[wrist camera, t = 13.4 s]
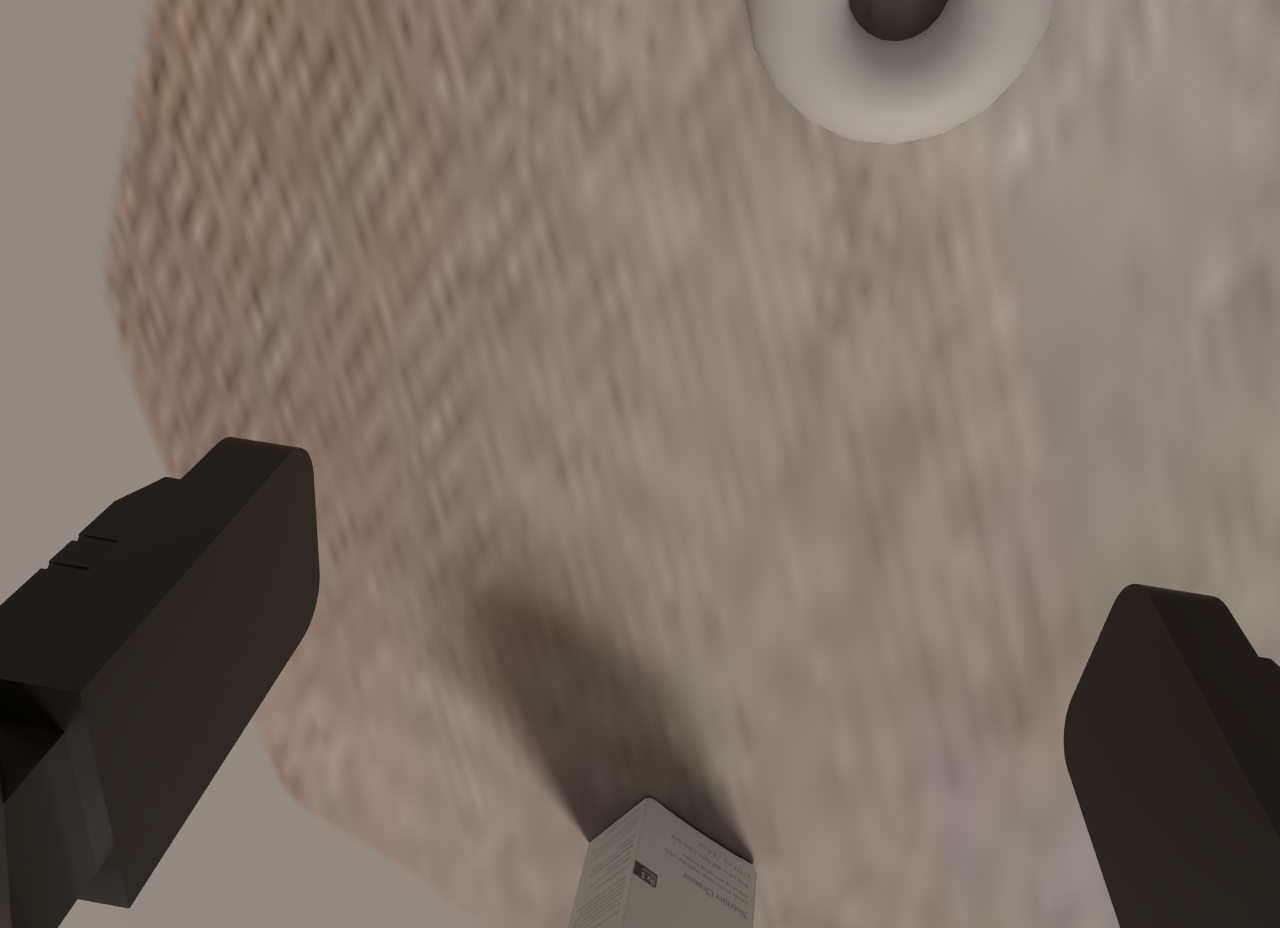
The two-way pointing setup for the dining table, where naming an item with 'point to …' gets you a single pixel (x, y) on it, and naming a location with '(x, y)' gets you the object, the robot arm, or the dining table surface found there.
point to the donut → (894, 64)
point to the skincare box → (661, 877)
